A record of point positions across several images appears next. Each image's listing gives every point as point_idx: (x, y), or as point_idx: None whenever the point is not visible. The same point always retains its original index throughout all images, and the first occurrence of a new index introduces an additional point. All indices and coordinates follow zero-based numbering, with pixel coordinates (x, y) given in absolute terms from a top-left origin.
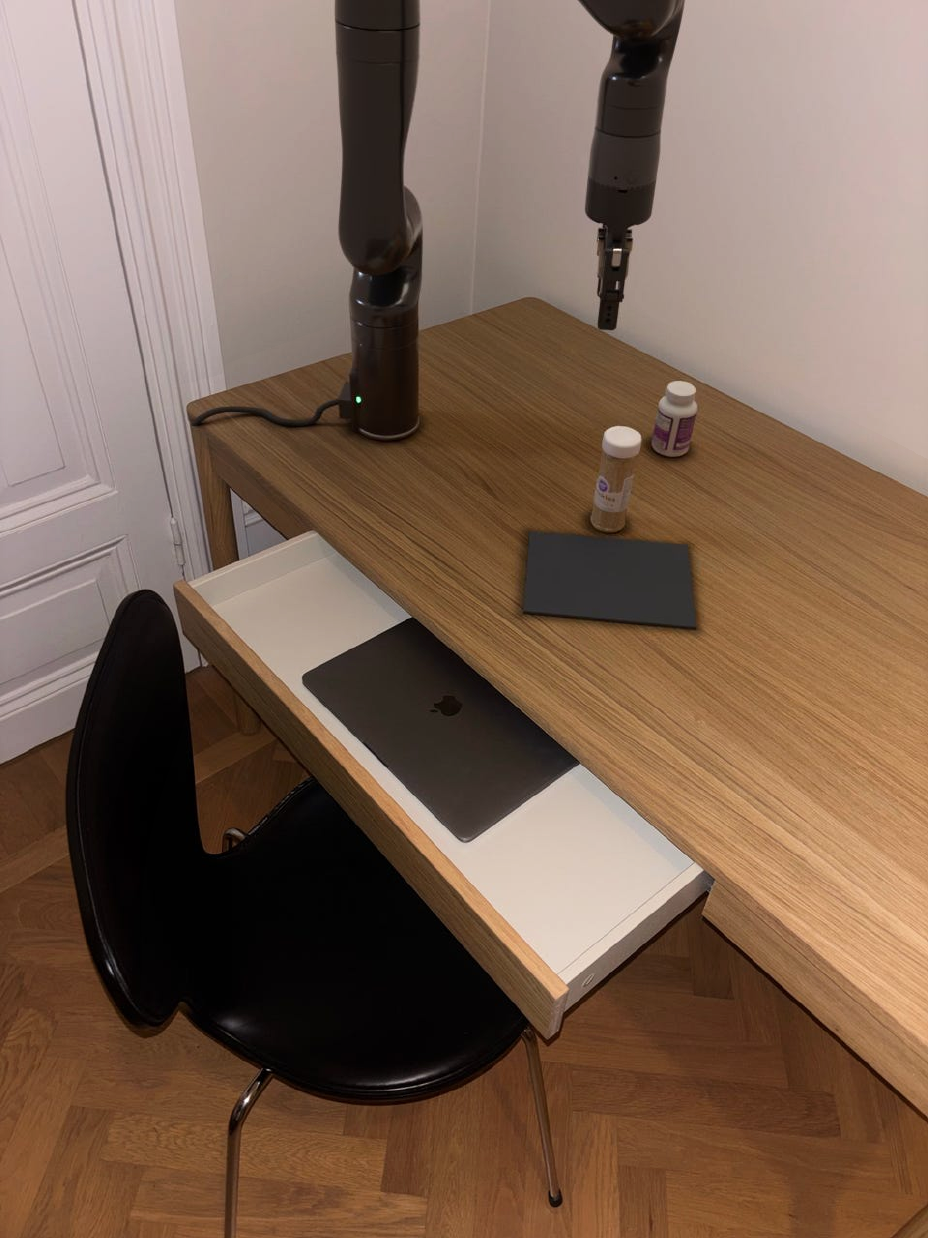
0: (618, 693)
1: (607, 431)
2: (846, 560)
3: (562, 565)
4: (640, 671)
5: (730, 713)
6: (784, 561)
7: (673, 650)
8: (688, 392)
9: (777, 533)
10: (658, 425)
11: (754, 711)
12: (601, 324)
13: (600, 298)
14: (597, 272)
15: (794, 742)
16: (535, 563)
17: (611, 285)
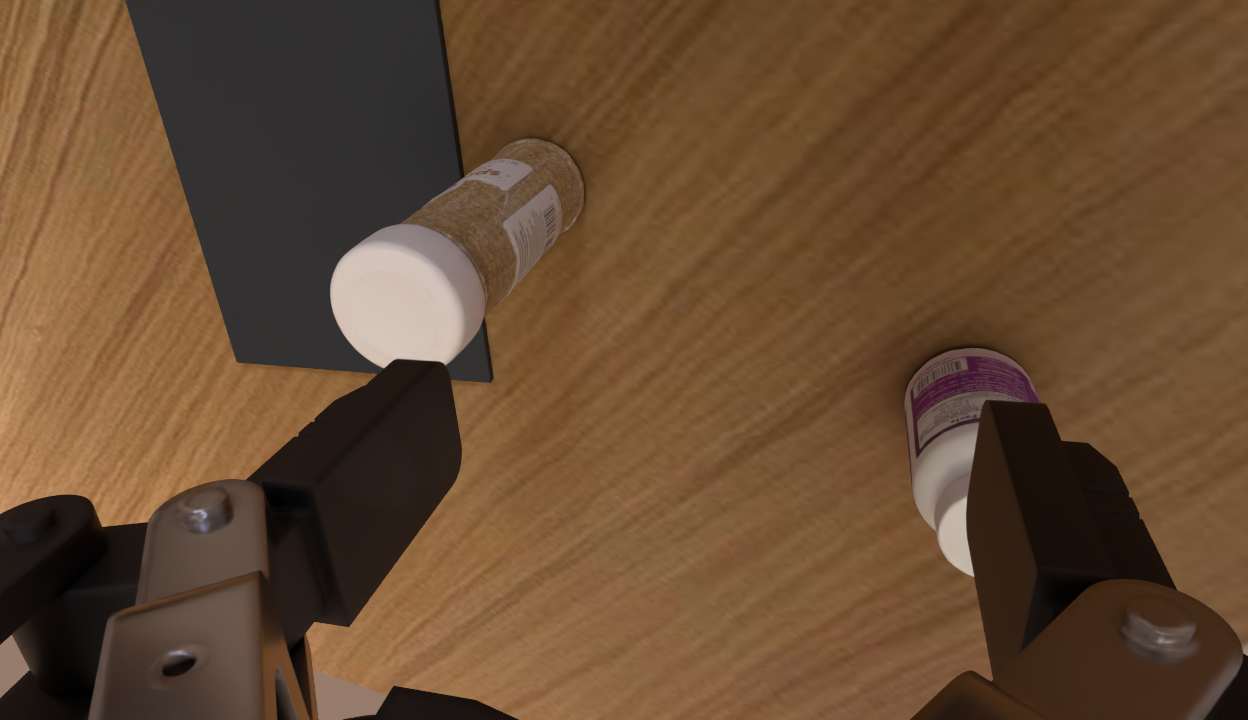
0: (18, 194)
1: (397, 257)
2: (537, 658)
3: (310, 59)
4: (89, 241)
5: (78, 384)
6: (503, 558)
7: (170, 309)
8: (961, 553)
9: (595, 569)
10: (954, 397)
11: (101, 422)
12: (349, 395)
13: (194, 490)
14: (239, 601)
15: (74, 464)
16: None
17: (984, 560)
